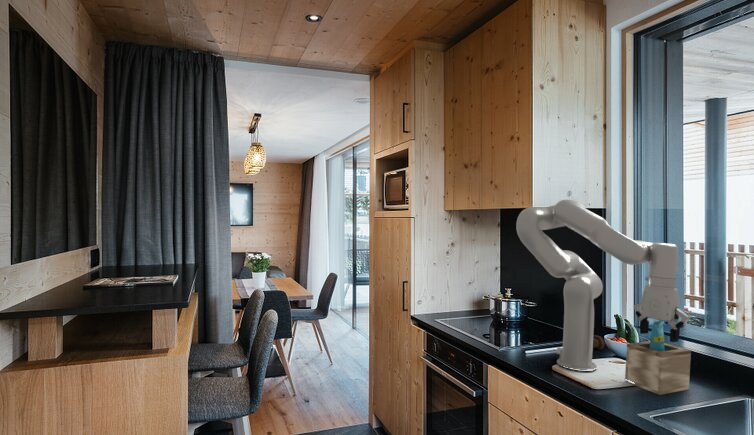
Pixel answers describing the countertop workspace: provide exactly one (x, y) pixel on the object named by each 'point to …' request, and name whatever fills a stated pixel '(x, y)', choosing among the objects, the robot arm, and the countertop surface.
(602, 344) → the brown oblong piece
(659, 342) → the tube
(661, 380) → the box
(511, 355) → the countertop surface
